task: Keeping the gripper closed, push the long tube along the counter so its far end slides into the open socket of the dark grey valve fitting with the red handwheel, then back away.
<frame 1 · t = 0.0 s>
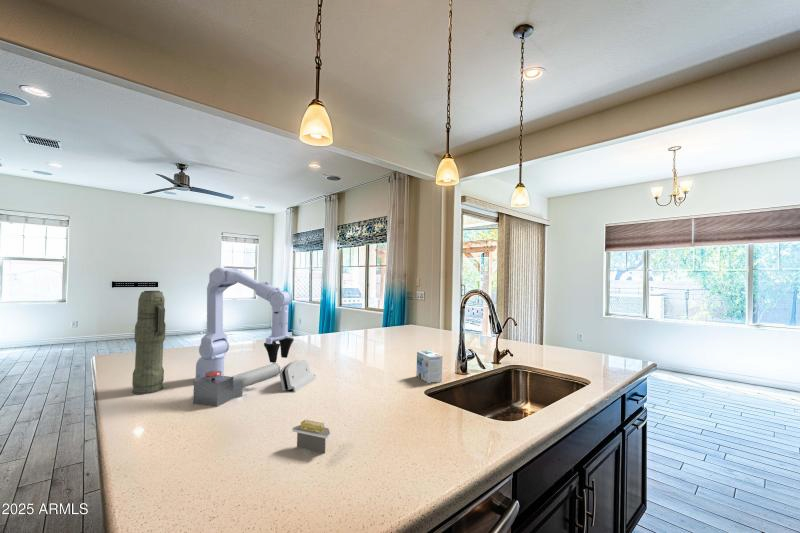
hand: (278, 359, 130), 10 cm above the counter, tool pointing down, fingers open, 7 cm apart
thermos: (148, 390, 123), on the counter
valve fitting: (214, 400, 115), on the counter
light bulb box: (428, 379, 145), on the counter
white rounded casing: (296, 385, 133), on the counter
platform: (312, 450, 85), on the counter
tube: (251, 384, 134), on the counter
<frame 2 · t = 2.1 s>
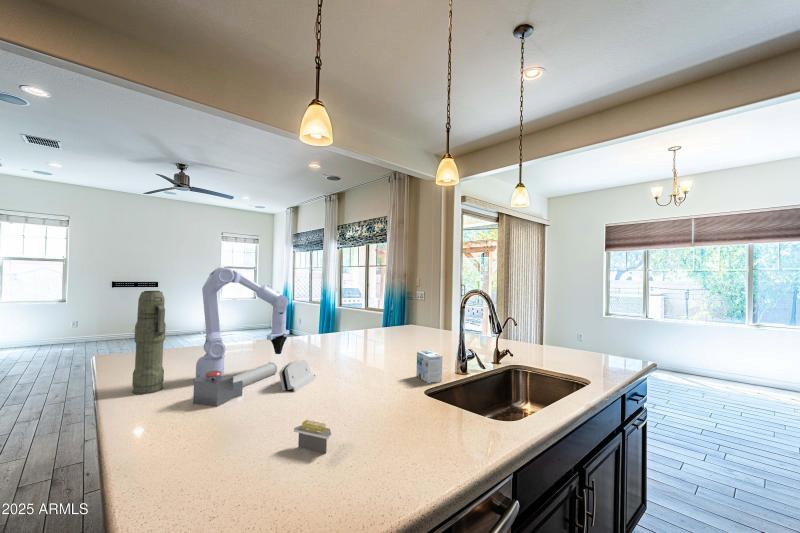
hand: (278, 353, 151), 7 cm above the counter, tool pointing down, fingers closed
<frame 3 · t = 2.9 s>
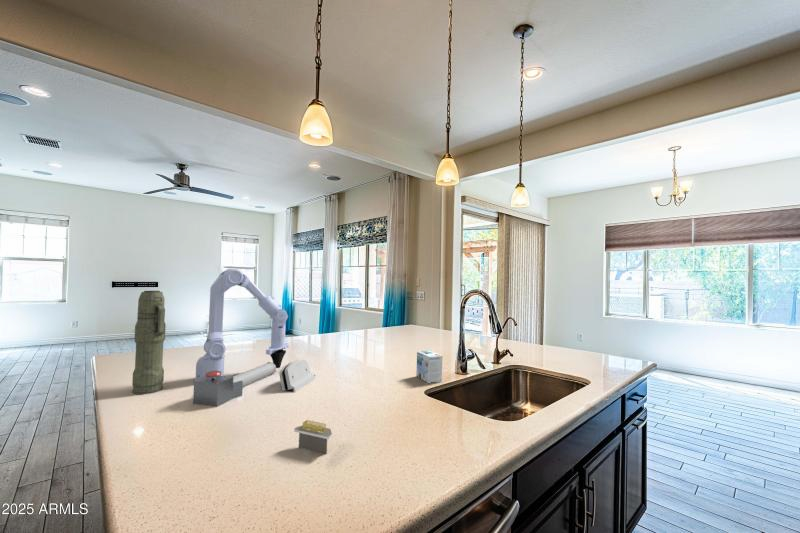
hand: (277, 367, 151), 1 cm above the counter, tool pointing down, fingers closed
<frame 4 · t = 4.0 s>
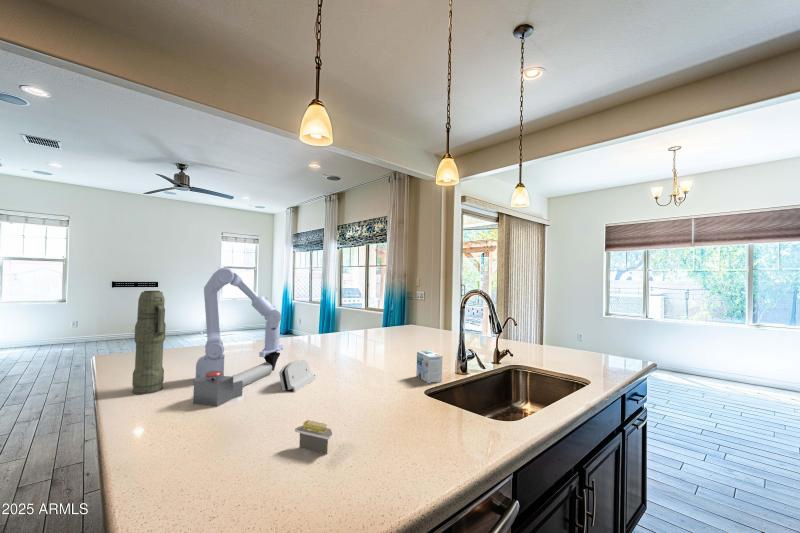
hand: (271, 370, 146), 1 cm above the counter, tool pointing down, fingers closed
tube: (247, 384, 133), on the counter, touching gripper
everything else where it was.
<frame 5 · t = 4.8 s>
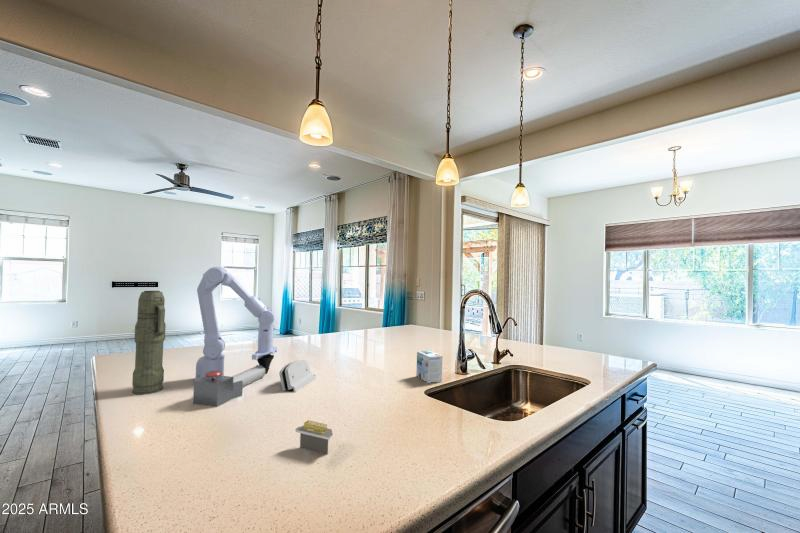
hand: (264, 373, 141), 1 cm above the counter, tool pointing down, fingers closed
tube: (239, 388, 128), on the counter, touching gripper
everything else where it was.
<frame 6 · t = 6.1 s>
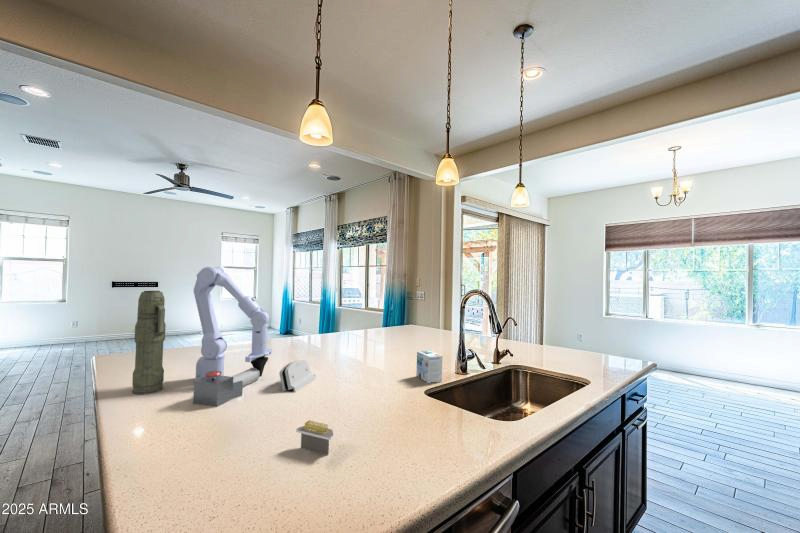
hand: (258, 376, 138), 1 cm above the counter, tool pointing down, fingers closed
tube: (231, 391, 124), on the counter, touching gripper, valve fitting
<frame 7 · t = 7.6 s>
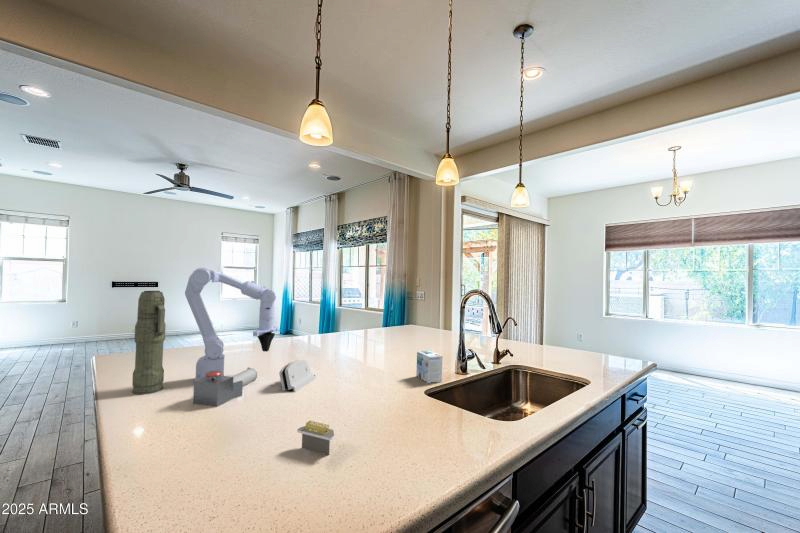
hand: (265, 351, 144), 10 cm above the counter, tool pointing down, fingers closed
tube: (231, 392, 124), on the counter
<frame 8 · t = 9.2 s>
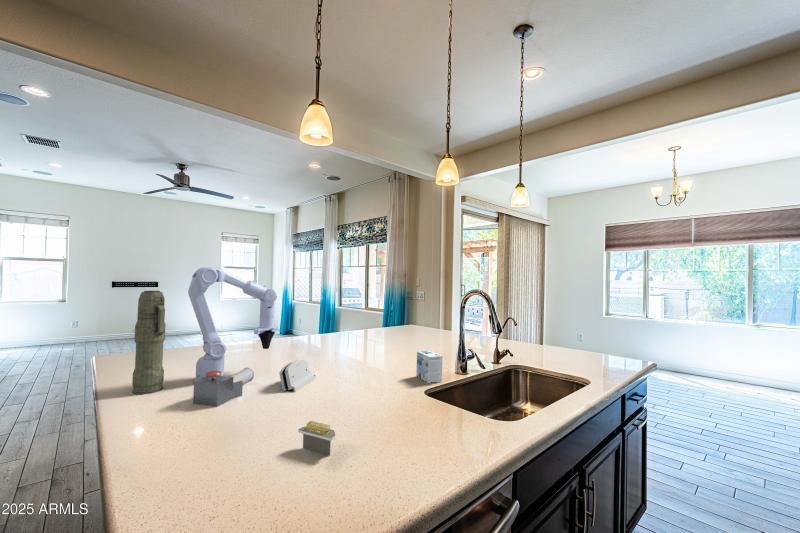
hand: (265, 348, 149), 10 cm above the counter, tool pointing down, fingers closed
at the end: tube 2.1 cm from the target spot on the counter beside the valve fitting, on the counter; tube touching counter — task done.
